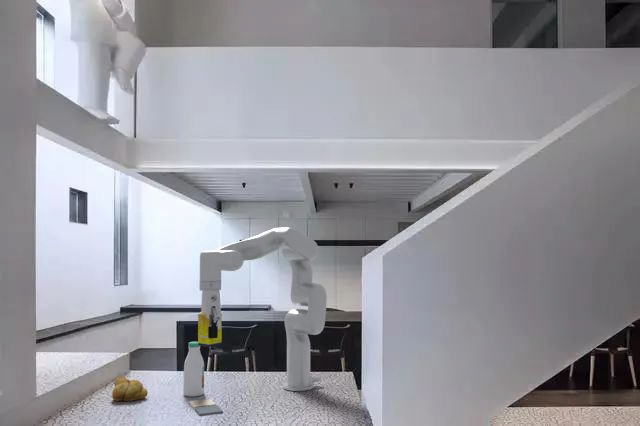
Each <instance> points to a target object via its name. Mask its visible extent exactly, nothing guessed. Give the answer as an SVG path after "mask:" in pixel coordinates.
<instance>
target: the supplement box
mask: <svg viewBox="0 0 640 426" xmlns="http://www.w3.org/2000/svg"><path fill="white" fill-rule="evenodd" d="M222 316H223V315H222V313H221V318H220V319H218V318H217V320H218V337H217V338H210V339H209V338H208V327H209V319H206V315H205V314H203V313H202V312H201V313H198V314H197V317H198V319H197V322H198V323H197V324H198V325H197V331H198V332H197V339H198V340H197V342H198V345H200V347H209V348H210V347H214V346H218V345H222V343H223V342H222V339H223V336H222V335H223V334H222V331H223V330H222V329H223V328H222V327H223V326H222V321H223V320H222ZM209 317H213V316H212V315H209Z"/></svg>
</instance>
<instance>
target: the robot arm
mask: <svg viewBox="0 0 640 426" xmlns="http://www.w3.org/2000/svg"><path fill="white" fill-rule="evenodd" d="M319 249H320V248H319V246H318V244H317V242H316V241H315V240H314V239H312V238H311V237H310V236H307V234H305V233H303V232H302V231H299V230H298V229H297V228H293V227H290V226H289V227H276V228H275V227H274V228H272V229H269V230H267V231H264V232H262V233H260V234H258V235H255V236H252V237H249V238H246V239H243V240H241V241H237V242H233V243H230V244H227V245H224V246H222V247H219V248H216V249H215V250H204V251H201V252H200V254H199V291H201V307H200V308H201V314H202V313H203V314H205V315H206V319H209V327H208V338H209V339H210V338H217V337H218V320H217V318H218V319H220V318H221V314H222V309H221V308H222V307H221V304H222V303H221V292H220V291H221V290H222V271H223V272H235V271H237V270H240V269H241V268H242V266H243V265H244V262H245V261H254V260H258V259H259V260H260V259H262V258H264V257H266V256H268V255H270V254H273V253H274V252H277V251H279V250H281V253H282V255H283V257H284V259H286V261H287V262H288V263H289V266H290V267H291V286H290V301H291V303H292V304H294V305H296V306H299V307H300V306H301V307H307V309H303V308H294V309H290V310H289V311H288V312H287V313H285V316H284V328H285V332H286V334H285V335H286V382H284V383H283V384H282V388H283V389H284V390H286V391H292V392H306V391H310V390H312V389H314V388H315V385H314V383H315V382H317V383H318V382H322V377H321V376H316V375H314V376H313V375H311V342H310V337H309V335H313V336H316V335H320V334H321V332H323V330H324V328H325V324H326V317H327V315H326V314H327V301H328V300H327V299H328V296H327V290H326V288H325V287H324V286H323V285H322V284H321V283H316V282H315V283H314V282H313V268H312V265H311V263H310V261H313V260H315V259H317V257H318V255H319ZM209 315H212V316H213V317H209Z"/></svg>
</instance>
